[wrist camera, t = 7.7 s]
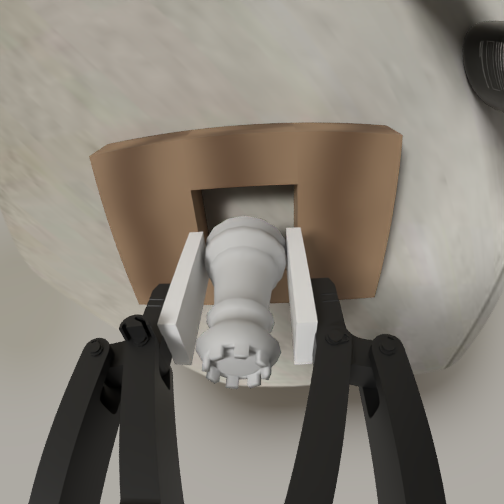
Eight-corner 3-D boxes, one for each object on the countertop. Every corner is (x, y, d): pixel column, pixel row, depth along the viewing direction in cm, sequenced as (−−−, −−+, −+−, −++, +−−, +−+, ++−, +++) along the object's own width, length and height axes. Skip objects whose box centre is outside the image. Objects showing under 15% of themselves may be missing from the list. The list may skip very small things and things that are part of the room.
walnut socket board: (386, 125, 16) (402, 135, 14) (366, 275, 23) (374, 297, 21) (107, 144, 17) (89, 156, 15) (148, 283, 24) (139, 304, 22)
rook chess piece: (228, 286, 18) (212, 404, 12) (192, 228, 16) (150, 348, 10) (297, 264, 17) (312, 387, 11) (268, 199, 15) (272, 321, 8)
